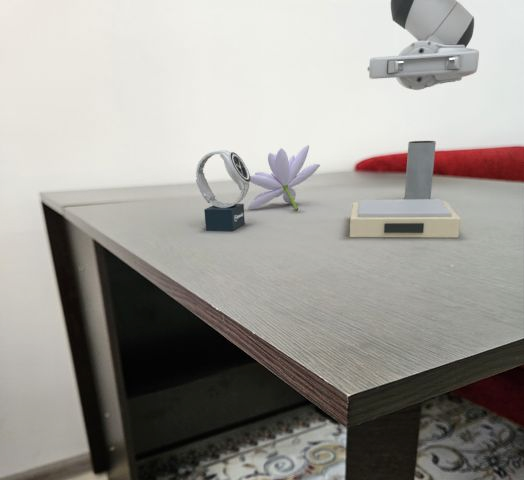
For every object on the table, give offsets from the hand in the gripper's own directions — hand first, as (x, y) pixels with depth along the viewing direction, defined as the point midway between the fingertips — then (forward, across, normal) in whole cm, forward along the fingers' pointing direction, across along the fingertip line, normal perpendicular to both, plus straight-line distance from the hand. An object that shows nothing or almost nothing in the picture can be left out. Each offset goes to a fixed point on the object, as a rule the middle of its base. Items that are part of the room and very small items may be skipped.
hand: (426, 64), depth 95 cm
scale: (+34, -5, +21) cm, 41 cm away
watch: (+34, -31, +21) cm, 51 cm away
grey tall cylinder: (+12, -1, +22) cm, 26 cm away
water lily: (+16, -25, +22) cm, 37 cm away
